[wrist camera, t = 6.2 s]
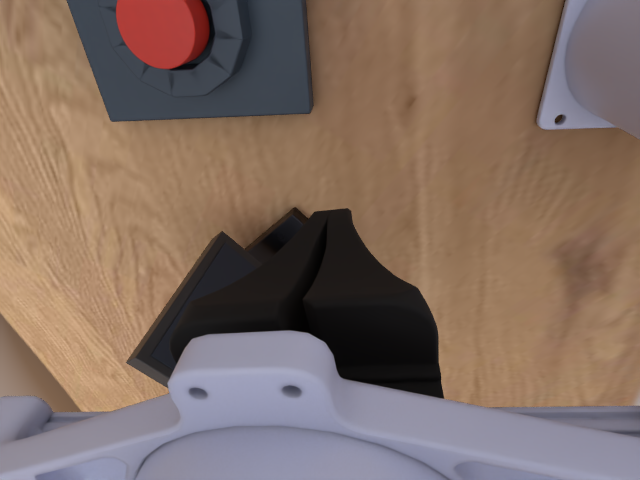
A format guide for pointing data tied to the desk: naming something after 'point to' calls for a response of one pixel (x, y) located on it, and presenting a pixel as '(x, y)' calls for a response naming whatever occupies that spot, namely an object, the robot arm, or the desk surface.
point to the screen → (204, 278)
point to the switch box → (206, 64)
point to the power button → (163, 30)
